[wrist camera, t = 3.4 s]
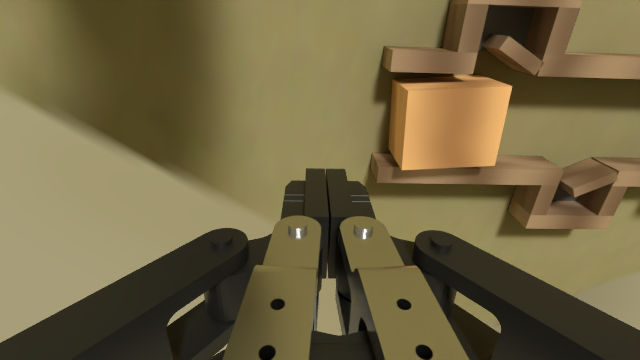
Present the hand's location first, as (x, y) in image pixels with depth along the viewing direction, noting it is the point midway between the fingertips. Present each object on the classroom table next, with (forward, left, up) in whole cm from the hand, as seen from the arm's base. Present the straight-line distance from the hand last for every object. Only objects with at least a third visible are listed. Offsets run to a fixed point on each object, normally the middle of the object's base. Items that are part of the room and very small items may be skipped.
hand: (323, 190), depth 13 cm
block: (+8, 0, -12) cm, 14 cm away
